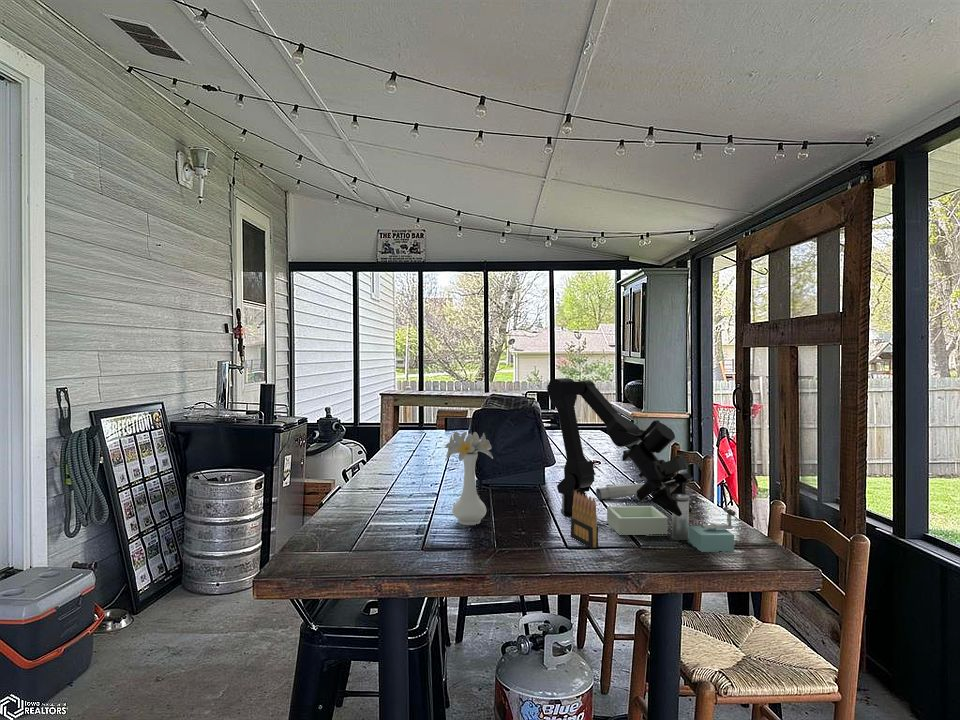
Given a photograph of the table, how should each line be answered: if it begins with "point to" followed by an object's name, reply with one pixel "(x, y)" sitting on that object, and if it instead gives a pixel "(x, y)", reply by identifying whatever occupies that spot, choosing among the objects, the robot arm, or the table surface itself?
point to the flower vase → (468, 476)
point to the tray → (637, 520)
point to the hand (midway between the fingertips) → (685, 513)
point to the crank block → (711, 539)
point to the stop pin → (681, 518)
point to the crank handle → (721, 526)
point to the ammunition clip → (584, 520)
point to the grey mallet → (617, 491)
